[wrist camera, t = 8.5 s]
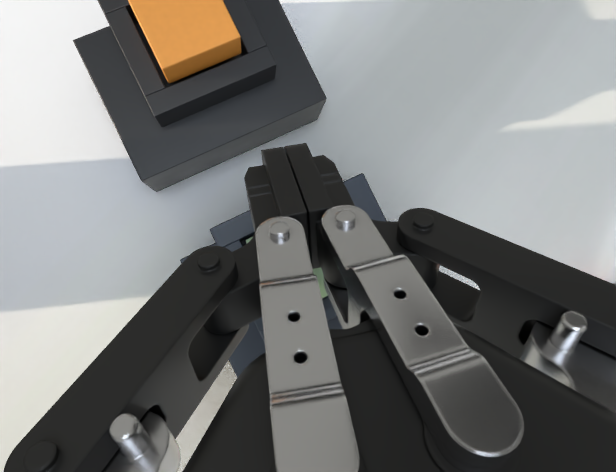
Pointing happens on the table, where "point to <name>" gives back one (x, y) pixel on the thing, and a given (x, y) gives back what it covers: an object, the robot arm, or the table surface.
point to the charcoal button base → (201, 92)
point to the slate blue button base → (242, 229)
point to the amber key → (187, 34)
